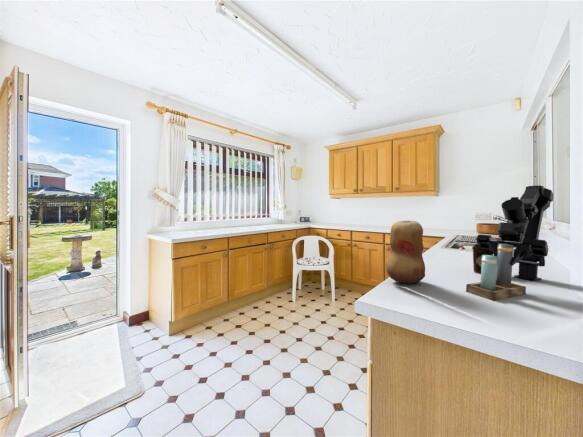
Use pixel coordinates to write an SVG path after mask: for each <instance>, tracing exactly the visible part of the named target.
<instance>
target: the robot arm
mask: <svg viewBox="0 0 583 437" xmlns="http://www.w3.org/2000/svg"><path fill="white" fill-rule="evenodd" d="M553 201H554V193H553V191H552V190H551V189H549V188H546V187H544V185H528V186H525V190H524V192H523V194H522V195H521V196H520V198H519V196H516V197H515V196H511V198H509V199H506V200H505V201H503V202H502V203H501V204H500V205H501V206H500V207H501V209H502V212H503V216H504V219H505V220H507V221H506V222H498V227H497V232H498V238H496V237H492V235H489V234H478V235H477V236H476V239H475V241H476V244H478V246H479V247H480V248H482V249H490V251H493V256H497V253H498V244H511V245H513V258H512V260H511V265H512V267H513V266H515V264H518V274H517V275H513V277H514V278H519V279H523V280H527V281H531V282H534V281H535V282H536V281H540V280H542V277H538V274H539V273H538V272H539V271H538V270H539V267H545V266H546V258H545V257H548V254H549V245H548V241H547V240H545V239H539V238H540V237H539V236H540V231H541V227H542V221H543V216H544V212H545V211H546V210H547V209H548V208H549V209H550V207H551V203H552V202H553Z"/></svg>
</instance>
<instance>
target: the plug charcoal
mask: <svg viewBox="0 0 583 437" xmlns="http://www.w3.org/2000/svg"><path fill="white" fill-rule="evenodd" d="M513 252H514V248H513V245H511V244H498V253H497V272H496V281H498V282H501V283H512V278H513V277H512V275H513V266H512V265H511V260H512V258H513Z"/></svg>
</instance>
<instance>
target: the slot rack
mask: <svg viewBox="0 0 583 437" xmlns="http://www.w3.org/2000/svg"><path fill="white" fill-rule="evenodd" d="M480 285H481V281H478V282H471V283H468V284H467V283H466V286H465V287H466V289H465V292H466V293H468V294H471V295H474V296H478V297H480V298H482V299H483V298H484V299H486V300H490V301H492V302H496V301H501V300H506V299H510V298H515V297H520V296H526V295H527V292H526V291H527V290H526V289H527V286H524V285H522V284H521V285H520V284H517V283H513V282H511V283H501V282H498V281H496V291H489V290H486V289H483V288H480Z"/></svg>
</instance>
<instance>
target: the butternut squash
mask: <svg viewBox="0 0 583 437" xmlns="http://www.w3.org/2000/svg"><path fill="white" fill-rule="evenodd" d="M423 234H424V229H423V226H422V225H421V223H419V222H418V221H416V220H410V219H409V220H407V219H405V220H398V221H396V222H394V223H393V224H392V225H391V227H390V236H389V244H390V250H391V251H390V255H389V256H388V259H387V261H386V265H385V267H386V270H385V271H386V273H387V275H388V276H389V277H390V279H392V280H393V281H394V282H396V283H398V284H402V285H412V284H415V283H419V282H421V281H422V280H423V279H425V277H426V265H425V262H424V261H425V260H424V257H423V252H424V248H425V247H424V244H423Z"/></svg>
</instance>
